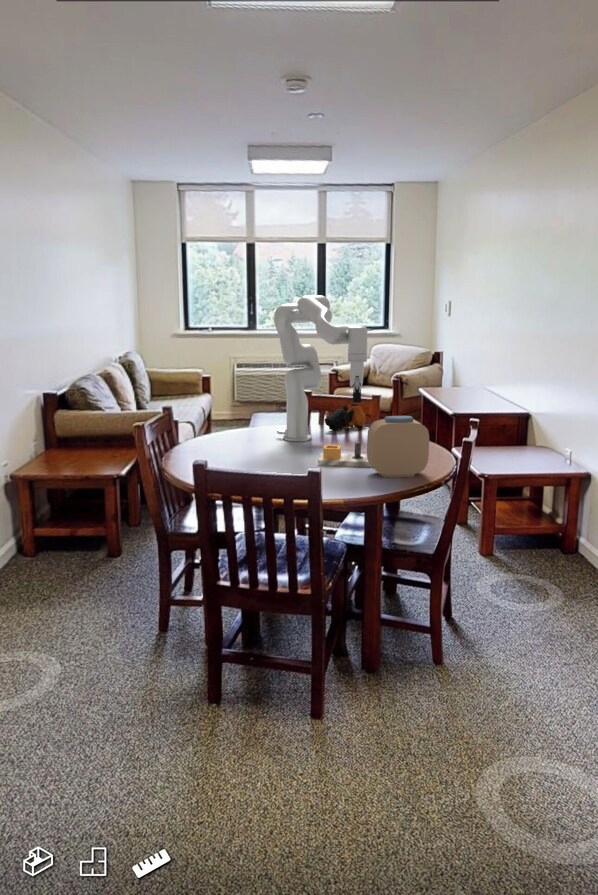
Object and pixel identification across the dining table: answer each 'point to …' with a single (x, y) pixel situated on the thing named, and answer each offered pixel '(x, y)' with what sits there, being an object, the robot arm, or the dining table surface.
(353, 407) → the tool
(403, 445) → the alarm clock
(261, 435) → the dining table surface
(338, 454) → the orange square frame
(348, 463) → the peg board
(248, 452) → the dining table surface
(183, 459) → the dining table surface
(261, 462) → the dining table surface
